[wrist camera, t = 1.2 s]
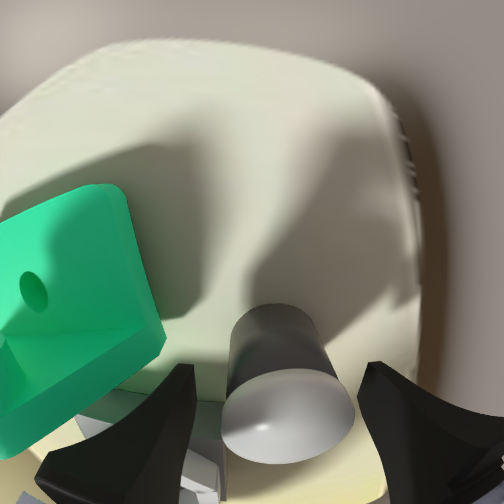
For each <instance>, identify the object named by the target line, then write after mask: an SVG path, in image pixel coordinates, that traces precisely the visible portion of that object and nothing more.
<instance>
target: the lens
mask: <svg viewBox="0 0 504 504" xmlns="http://www.w3.org/2000/svg"><path fill="white" fill-rule="evenodd" d="M354 417H355V411H354V407H353V404H352V402H351V400H350V397H349V395H348V393H347V391H346V389H345V387H344V386H343V384H342V383H341V382H340V381H339V380H338V378H337V375H336V373H335V371H334V369H333V366H332V364H331V362H330V360H329V357H328V355H327V353H326V351H325V349H324V346H323V344H322V342H321V340H320V338H319V335H318V333H317V331H316V329H315V327H314V325H313V323H312V321H311V319H310V318H309V317H308V316H307V315H306V314H305V313H304V312H303V311H301V310H300V309H298V308H296V307H293V306H290V305H286V304H266V305H262V306H259V307H256V308H254V309H252V310H250V311H249V312H247V313H246V314H244V315H243V316H242V317H241V318H240V319H239V320H238V322H237V323H236V325H235V326H234V328H233V331H232V334H231V340H230V352H229V365H228V379H227V392H226V402H225V404H224V406H223V410H222V422H221V436H222V439H223V441H224V443H225V444H226V446H227V447H228V448H229V449H230V450H231V451H233V452H234V453H235V454H237V455H239V456H241V457H243V458H245V459H248V460H251V461H254V462H259V463H266V464H287V463H294V462H299V461H303V460H307V459H310V458H313V457H315V456H318V455H320V454H322V453H324V452H326V451H328V450H329V449H331V448H332V447H334V446H335V445H337V444H338V443H339V442H340V441H341V440H342V439H343V438H344V437H345V436H346V435H347V433H348V432H349V431H350V429H351V427H352V425H353V422H354Z"/></svg>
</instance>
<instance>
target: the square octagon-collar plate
mask: <svg viewBox="0 0 504 504" xmlns="http://www.w3.org/2000/svg"><path fill="white" fill-rule="evenodd" d="M148 396H149V395H146V394H140V393H134V392H129V391H123V390H118V389H112V390H111V391H110V392H108V393H107V394H105V395H104V396H103V397H101V398H100V399H98V400H97V401H96V402H94V403H93V404H91V405H90V406H89V407H87V408H86V409H84V410H83V411H81V412H80V413H79V414H77V415H76V416H74V418H75V420H76V422H77V424H78V426H79V428H80V430H81V432H82V433H83V435H84V437H85V439H88V438H90V437H92V436H94V435H97V434H98V433H100V432H102V431H104V430H105V429H107V428H109V427H110V426H112V425H114V424H115V423H117V422H118V421H120V420H121V419H122V418H124V417H125V416H127V415H128V414H129V413H130V412H132V411H133V410H134V409H135V408H136V407H138V406H139V405H140V404H141V403H142V402H143V401H144V400H145V399H146V398H147V397H148ZM224 404H225V403H222V402H206V401H197V406H196V414H195V421H194V425H193V429H192V433H191V437H190V441H189V445H188V449H187V452H186V456H185V460H184V465H183V470H182V477H181V485H180V495H179V504H220V501H226V499H227V448H226V444H225V443H224V441H223V439H222V436H221V422H222V410H223V406H224Z"/></svg>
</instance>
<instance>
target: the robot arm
mask: <svg viewBox="0 0 504 504" xmlns="http://www.w3.org/2000/svg"><path fill="white" fill-rule="evenodd" d="M357 399H358V403H359V407H360V410H361V414H362V417H363V419H364V421H365V424H366V426H367V428H368V430H369V433H370V435H371V437H372V439H373V442H374V444H375V446H376V448H377V451H378V453H379V456H380V458H381V461H382V465H383V469H384V472H385V476H386V481H387V485H388V490H389V496H390V503H391V504H504V470H503V469H502V468H501V466H502V465H503V464H504V461H503V460H502V456H503V455H504V417H497V416H490V415H485V414H480V413H476V412H472V411H469V410H466V409H463V408H460V407H458V406H455V405H453V404H450V403H448V402H446V401H444V400H442V399H439V398H438V397H436V396H434V395H432V394H430V393H429V392H427V391H425V390H424V389H422V388H420V387H419V386H417V385H416V384H414V383H413V382H411V381H410V380H408V379H407V378H405V377H404V376H402V375H401V374H399V373H398V372H397V371H395V370H394V369H392V368H391V367H389V366H388V365H386V364H385V363H383V362H381V361H376V362H368V364H367V368H366V371H365V374H364V377H363V380H362V383H361V386H360V389H359V392H358V395H357ZM196 406H197V394H196V384H195V374H194V365H191V364H180V363H179V364H177V365H176V366H175V368H174V369H173V370H172V371H171V372H170V374H169V375H168V376H167V377H166V378H165V379H164V381H163V382H162V383H161V384H160V385H159V386H158V387H157V388H156V389H155V390H154V391H153V392H152V393H151V394H150V395H149V396H148V397H147V398H146V399H145V400H144V401H143V402H142V403H141V404H140V405H139V406H138V407H136V408H135V409H134V410H133V411H132V412H130V413H129V414H128V415H127V416H125V417H124V418H122V419H121V420H120V421H118V422H117V423H115V424H114V425H112V426H110V427H109V428H107V429H105V430H104V431H102V432H100V433H98V434H97V435H94V436H92V437H90V438H88V439H86V440H84V441H81V442H79V443H76V444H74V445H71V446H68V447H64V448H61V449H58V450H54V451H50V452H49V453H48V454H47V456H46V457H45V459H44V460H43V462H42V464H41V466H40V468H39V470H38V472H37V474H36V476H35V477H34V480H35V482H36V484H37V485H38V486H39V487H40V488H41V490H43V491H44V492H45V493H46V494H47V495H48V496H49V497H50V498H51V499H52V500H53V501H54V502H55V503H57V504H179V495H180V485H181V477H182V470H183V465H184V460H185V456H186V452H187V449H188V445H189V441H190V437H191V433H192V429H193V425H194V421H195V414H196ZM16 504H45V503H43V502H42V501H40V500H38V499H36V498H35V497H33V496H31V495H29V494H28V493H26V492H25V491H23V492H22V493H21V495H20V497H19V499H18V501H17V503H16Z"/></svg>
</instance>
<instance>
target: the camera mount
mask: <svg viewBox="0 0 504 504" xmlns="http://www.w3.org/2000/svg"><path fill="white" fill-rule="evenodd" d="M166 339H167V337H166V334H165V331H164V329H163V326H162V323H161V320H160V317H159V314H158V311H157V309H156V306H155V303H154V299H153V296H152V293H151V290H150V287H149V284H148V280H147V277H146V274H145V270H144V267H143V263H142V260H141V256H140V253H139V249H138V245H137V241H136V237H135V233H134V229H133V225H132V221H131V217H130V212H129V208H128V203H127V199H126V197H125V195H124V193H123V192H122V190H121V189H120V188H119V187H117V186H115V185H113V184H108V183H107V184H90V185H84V186H82V187H79V188H77V189H74V190H72V191H69V192H67V193H64V194H62V195H59V196H57V197H54V198H52V199H50V200H47V201H45V202H43V203H41V204H38V205H36V206H34V207H32V208H30V209H28V210H26V211H23V212H21V213H19V214H17V215H15V216H13V217H11V218H9V219H7V220H5V221H3V222H1V223H0V460H3V459H8V458H11V457H13V456H15V455H17V454H19V453H21V452H22V451H24V450H25V449H27V448H28V447H30V446H31V445H33V444H34V443H36V442H38V441H39V440H41V439H42V438H43V437H45V436H46V435H48V434H49V433H51V432H52V431H54V430H55V429H57V428H58V427H60V426H61V425H63V424H64V423H66V422H67V421H68V420H70V419H71V418H73V417H74V416H76V415H77V414H79V413H80V412H81V411H83V410H84V409H86V408H87V407H89V406H90V405H91V404H93V403H94V402H96V401H97V400H98V399H100V398H101V397H103V396H104V395H105V394H107V393H108V392H110V391H111V390H112V389H114V388H115V387H117V386H118V385H119V384H121V383H122V382H123V381H125V380H126V379H128V378H129V377H130V376H132V375H133V374H134V373H136V372H137V371H139V370H140V369H141V368H143V367H144V366H145V365H147V364H148V363H149V362H151V361H152V360H153V359H155V358H156V357H157V356H159V354H160V352H161V350H162V347H163V345H164V343H165V341H166Z"/></svg>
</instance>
